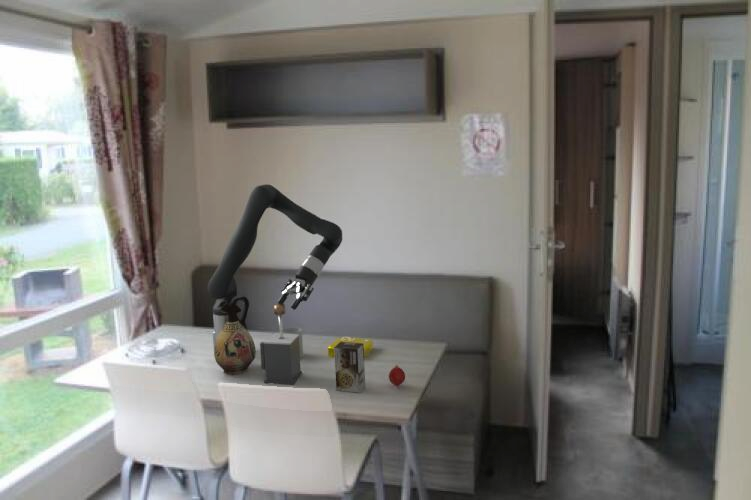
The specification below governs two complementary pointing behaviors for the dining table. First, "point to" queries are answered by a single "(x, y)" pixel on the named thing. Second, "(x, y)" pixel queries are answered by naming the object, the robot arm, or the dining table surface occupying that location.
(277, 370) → the gray rectangular box
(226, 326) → the ceramic jug
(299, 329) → the mug
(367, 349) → the element tile
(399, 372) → the onion
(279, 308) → the plunger
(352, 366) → the coffee box
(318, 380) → the dining table surface
